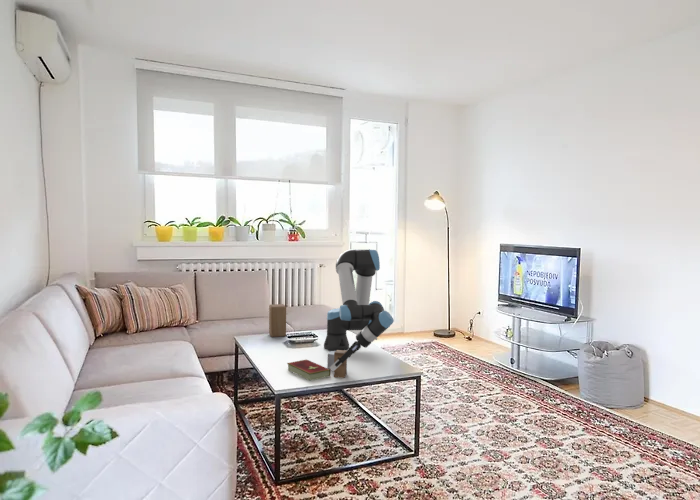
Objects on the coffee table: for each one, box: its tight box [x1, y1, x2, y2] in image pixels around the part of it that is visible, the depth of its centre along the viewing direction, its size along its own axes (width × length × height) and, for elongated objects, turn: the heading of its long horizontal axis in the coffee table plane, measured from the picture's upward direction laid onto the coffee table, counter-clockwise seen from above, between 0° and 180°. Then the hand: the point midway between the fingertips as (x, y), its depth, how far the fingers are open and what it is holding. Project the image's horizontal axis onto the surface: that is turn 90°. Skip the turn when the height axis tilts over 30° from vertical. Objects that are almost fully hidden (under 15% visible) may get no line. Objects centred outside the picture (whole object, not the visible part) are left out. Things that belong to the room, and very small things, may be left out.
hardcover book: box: [286, 358, 332, 381], centre depth 238 cm, size 12×21×4 cm, turn 38°
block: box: [268, 303, 287, 338], centre depth 316 cm, size 10×10×20 cm
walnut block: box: [333, 350, 348, 379], centre depth 234 cm, size 5×5×12 cm
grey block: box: [326, 350, 335, 371], centre depth 246 cm, size 6×6×8 cm
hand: (334, 366), depth 235 cm, fingers open, 10 cm apart
